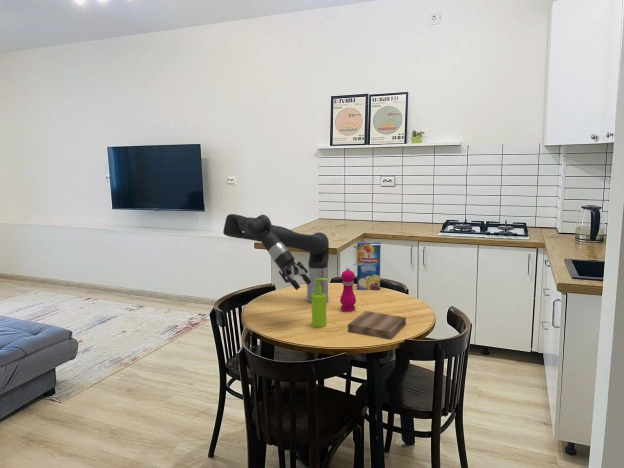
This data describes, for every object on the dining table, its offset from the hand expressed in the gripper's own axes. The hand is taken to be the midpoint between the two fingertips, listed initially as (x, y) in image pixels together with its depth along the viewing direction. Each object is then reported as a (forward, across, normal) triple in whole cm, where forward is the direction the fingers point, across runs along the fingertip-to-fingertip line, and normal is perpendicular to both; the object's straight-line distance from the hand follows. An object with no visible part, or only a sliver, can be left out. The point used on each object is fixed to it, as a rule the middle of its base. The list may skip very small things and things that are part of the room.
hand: (304, 286), depth 192 cm
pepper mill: (+17, -25, -6) cm, 31 cm away
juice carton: (+13, -62, -11) cm, 64 cm away
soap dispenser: (+16, -2, -7) cm, 18 cm away
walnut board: (+31, -11, +9) cm, 34 cm away
